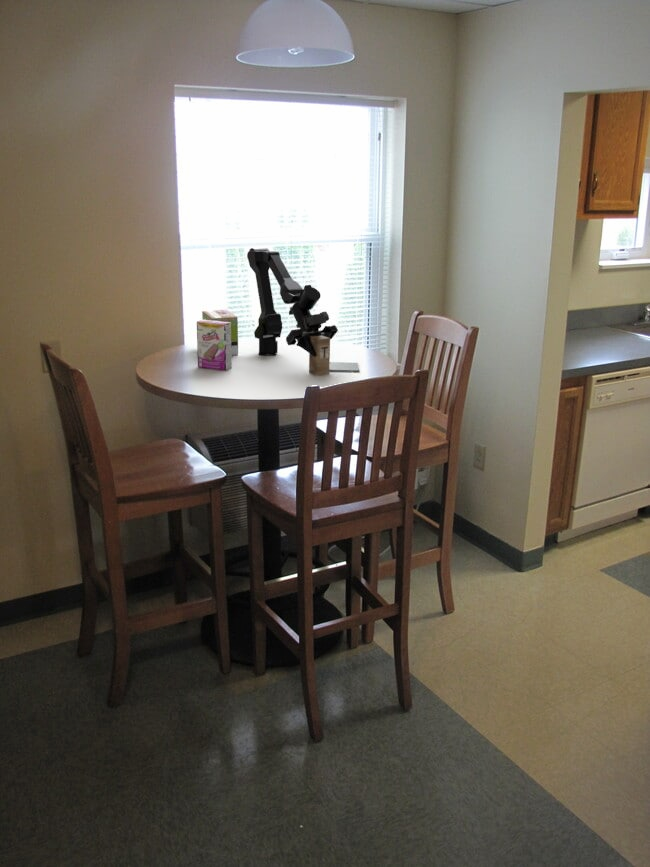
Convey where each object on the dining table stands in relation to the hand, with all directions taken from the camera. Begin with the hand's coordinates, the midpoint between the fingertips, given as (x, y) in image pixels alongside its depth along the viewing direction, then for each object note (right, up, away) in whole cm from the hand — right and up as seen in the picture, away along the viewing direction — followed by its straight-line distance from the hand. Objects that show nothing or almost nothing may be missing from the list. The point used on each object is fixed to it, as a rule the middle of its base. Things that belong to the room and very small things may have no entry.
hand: (321, 355), depth 260 cm
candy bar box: (-38, -4, +6) cm, 38 cm away
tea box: (-39, +4, +30) cm, 49 cm away
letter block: (-1, -6, +3) cm, 7 cm away
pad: (+7, -3, +11) cm, 14 cm away
